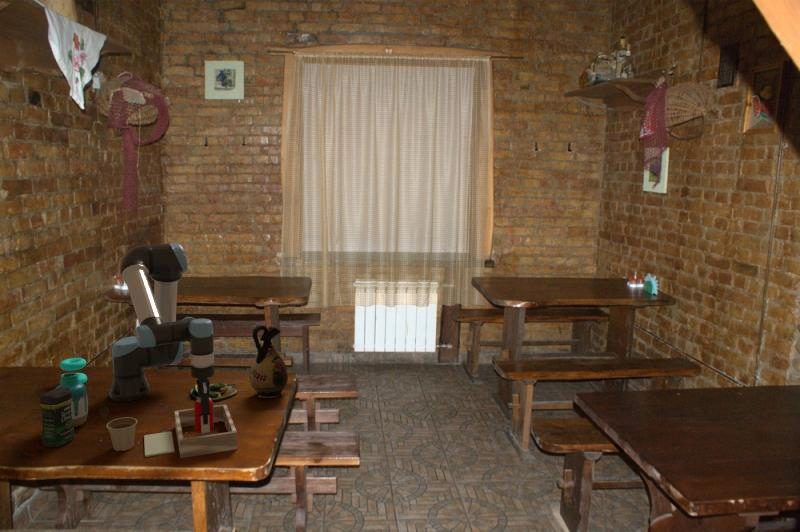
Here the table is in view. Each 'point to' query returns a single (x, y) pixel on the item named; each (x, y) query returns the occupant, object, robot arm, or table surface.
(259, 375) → the ceramic jug
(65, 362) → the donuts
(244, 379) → the table surface
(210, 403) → the beverage can
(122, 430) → the flower pot
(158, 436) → the mat
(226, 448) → the frame
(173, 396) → the table surface
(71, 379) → the vase
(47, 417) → the coffee jar
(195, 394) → the salad plate
